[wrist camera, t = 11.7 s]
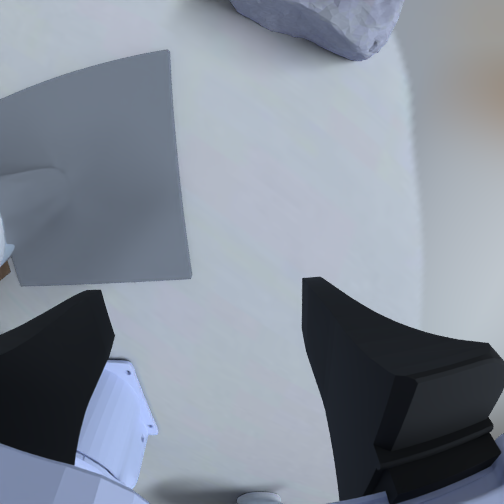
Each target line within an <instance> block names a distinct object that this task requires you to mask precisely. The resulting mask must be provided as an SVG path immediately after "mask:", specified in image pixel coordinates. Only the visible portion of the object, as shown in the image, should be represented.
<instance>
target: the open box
mask: <svg viewBox="0 0 504 504" xmlns="http://www.w3.org/2000/svg"><path fill="white" fill-rule="evenodd" d="M10 272H11V271H10V268H9V265H8V261H6V262H5V263H4V264H3V265H2V266H1V267H0V280H1V279H3V278H4V277H5V276H6V275H8V274H9V273H10Z"/></svg>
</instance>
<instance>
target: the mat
mask: <svg viewBox="0 0 504 504" xmlns="http://www.w3.org/2000/svg"><path fill="white" fill-rule="evenodd" d="M47 167H54V168H56V169H58V170H59V171H61V172H63V173H64V174H65V176H66V178H67V180H68V182H69V184H70V187H71V192H70V203H69V204H68V206H67V207H66V208H65V210H64V211H63V212H62V213H61V214H60V215H59V216H58V217H57V218H55V219H54V220H53V221H52V222H50V223H49V224H48V225H47V226H45V227H44V228H43V229H42V230H40V231H39V232H38V233H37V234H36V235H34V236H33V237H32V238H31V239H30V240H28V241H27V242H26V243H25V244H24V245H23V246H21V247H20V248H19V249H18V250H17V251H16V252H15V253H14V254H13V255H12V260H13V263H14V266H15V270H16V273H17V276H18V279H19V282H20V285H21V286H49V285H77V284H102V283H124V282H144V281H164V280H182V279H191V277H192V271H191V264H190V257H189V250H188V243H187V235H186V228H185V220H184V212H183V204H182V195H181V186H180V177H179V167H178V158H177V147H176V136H175V124H174V112H173V98H172V83H171V65H170V51H169V50H162V51H156V52H151V53H146V54H141V55H136V56H131V57H127V58H122V59H118V60H114V61H110V62H106V63H102V64H98V65H95V66H91V67H88V68H84V69H81V70H77V71H74V72H71V73H68V74H65V75H62V76H59V77H56V78H53V79H50V80H47V81H44V82H42V83H39V84H36V85H34V86H31V87H29V88H26V89H24V90H21V91H19V92H16V93H14V94H12V95H9V96H7V97H5V98H3V99H0V176H3V175H9V174H14V173H20V172H25V171H30V170H36V169H41V168H47Z"/></svg>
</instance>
